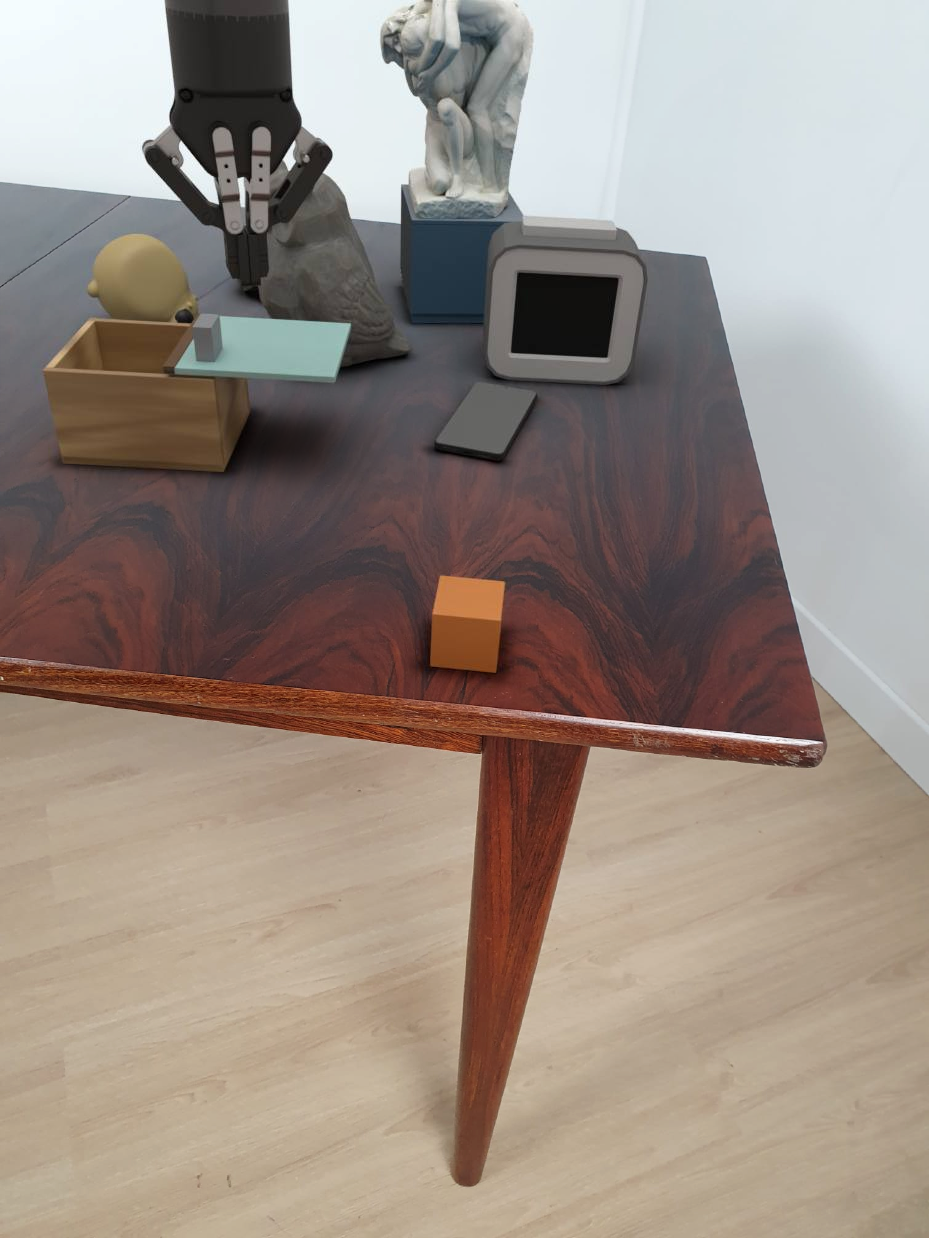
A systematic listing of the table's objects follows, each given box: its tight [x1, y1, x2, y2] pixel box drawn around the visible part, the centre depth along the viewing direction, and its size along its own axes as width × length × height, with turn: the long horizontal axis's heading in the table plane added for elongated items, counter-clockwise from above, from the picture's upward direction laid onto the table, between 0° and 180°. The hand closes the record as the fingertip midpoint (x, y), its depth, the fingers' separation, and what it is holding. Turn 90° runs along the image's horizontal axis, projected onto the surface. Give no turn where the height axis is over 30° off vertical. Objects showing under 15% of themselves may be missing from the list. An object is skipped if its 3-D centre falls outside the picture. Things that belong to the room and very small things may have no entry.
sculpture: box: [379, 0, 534, 324], centre depth 116 cm, size 17×16×35 cm
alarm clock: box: [482, 215, 649, 386], centre depth 107 cm, size 16×11×16 cm
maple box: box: [42, 317, 251, 473], centre depth 90 cm, size 12×14×9 cm
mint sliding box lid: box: [163, 313, 351, 384], centre depth 86 cm, size 12×14×4 cm
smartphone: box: [433, 381, 538, 461], centre depth 98 cm, size 7×1×15 cm
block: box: [429, 575, 506, 674], centre depth 68 cm, size 5×5×5 cm
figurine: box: [258, 159, 410, 368], centre depth 104 cm, size 14×16×20 cm
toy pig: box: [86, 233, 199, 324], centre depth 111 cm, size 10×12×11 cm
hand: (249, 282), depth 71 cm, fingers closed
